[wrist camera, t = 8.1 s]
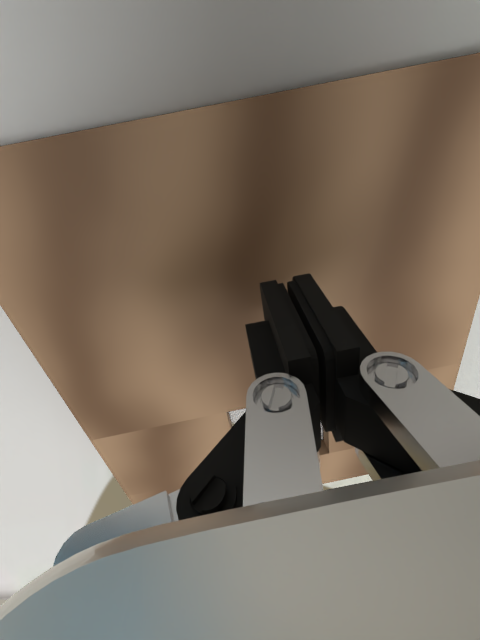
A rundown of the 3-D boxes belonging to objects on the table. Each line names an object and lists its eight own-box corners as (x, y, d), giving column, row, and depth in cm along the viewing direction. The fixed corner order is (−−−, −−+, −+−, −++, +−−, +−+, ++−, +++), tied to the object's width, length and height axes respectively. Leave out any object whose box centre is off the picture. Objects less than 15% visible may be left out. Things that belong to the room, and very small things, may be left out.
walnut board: (522, 45, 11) (550, 38, 10) (424, 447, 22) (433, 460, 22) (-70, 161, 10) (-94, 164, 10) (146, 506, 22) (144, 521, 21)
